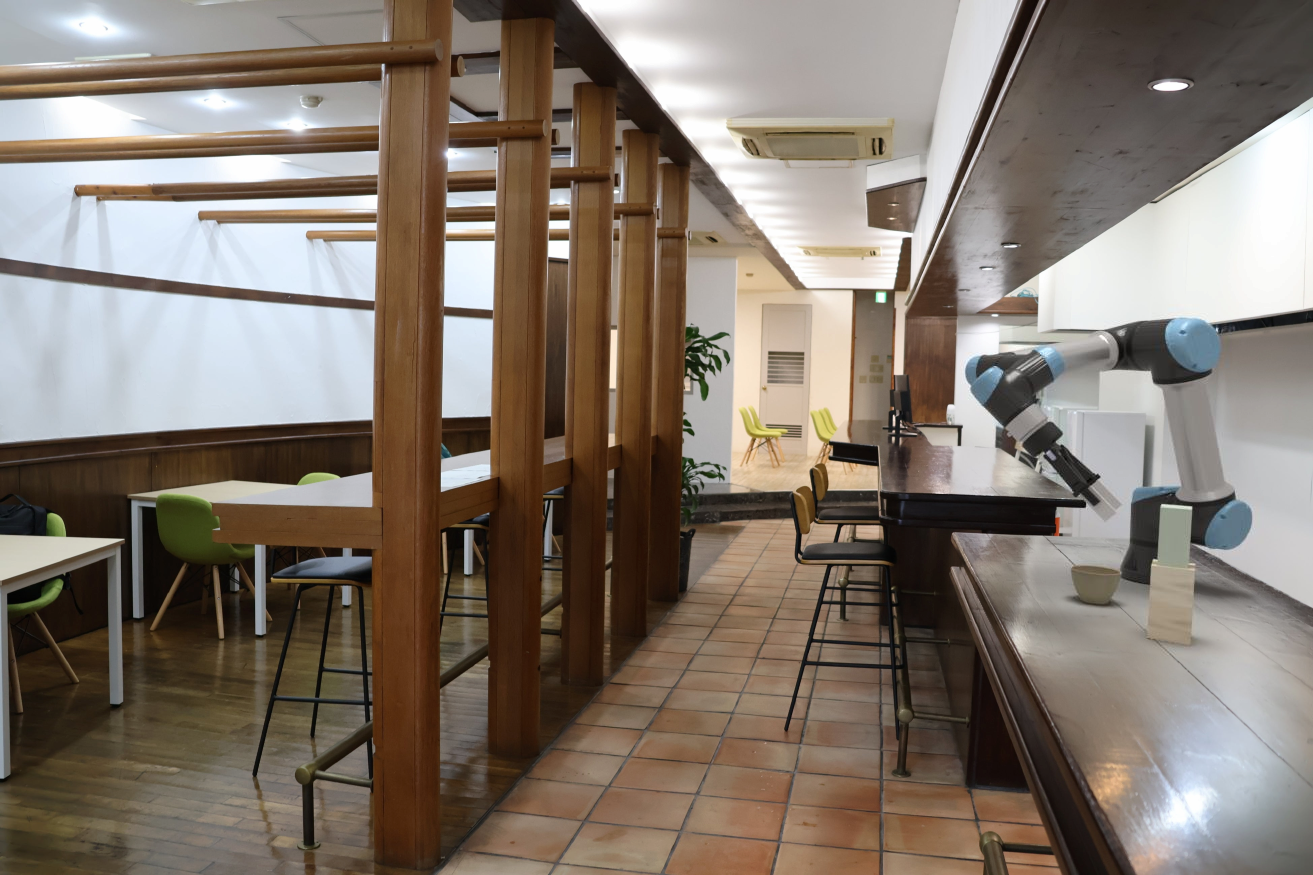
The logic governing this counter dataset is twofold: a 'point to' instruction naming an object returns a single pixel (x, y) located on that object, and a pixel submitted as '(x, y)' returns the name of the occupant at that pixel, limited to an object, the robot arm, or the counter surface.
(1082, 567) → the flower pot
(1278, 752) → the counter surface
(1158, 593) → the tower top
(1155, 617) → the tower base
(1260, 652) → the counter surface
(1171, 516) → the sage block
